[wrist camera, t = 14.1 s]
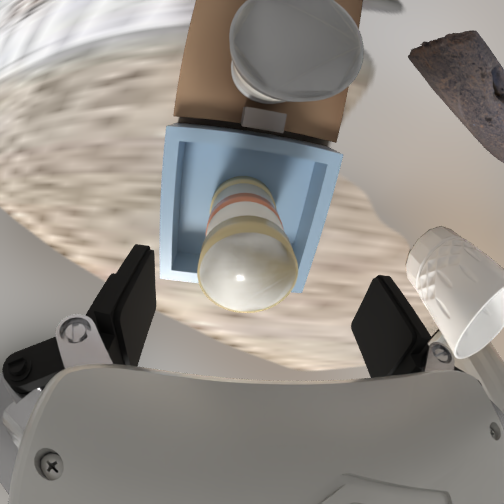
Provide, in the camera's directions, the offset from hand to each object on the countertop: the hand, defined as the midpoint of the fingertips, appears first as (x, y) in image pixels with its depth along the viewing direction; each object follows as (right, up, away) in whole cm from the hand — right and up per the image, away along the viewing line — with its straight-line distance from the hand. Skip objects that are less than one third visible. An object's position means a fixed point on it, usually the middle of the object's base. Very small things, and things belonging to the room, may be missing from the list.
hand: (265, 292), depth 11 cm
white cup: (+17, +1, +12) cm, 21 cm away
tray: (-1, +5, +8) cm, 9 cm away
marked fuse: (-1, +5, +7) cm, 9 cm away
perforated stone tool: (+17, +14, +4) cm, 22 cm away
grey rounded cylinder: (0, +12, +2) cm, 12 cm away
